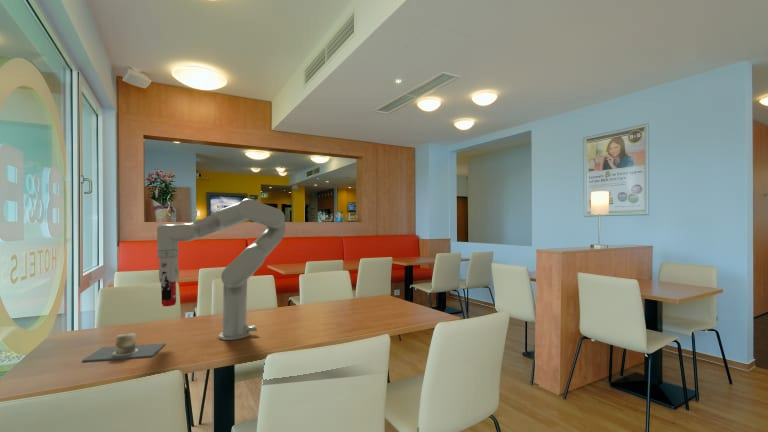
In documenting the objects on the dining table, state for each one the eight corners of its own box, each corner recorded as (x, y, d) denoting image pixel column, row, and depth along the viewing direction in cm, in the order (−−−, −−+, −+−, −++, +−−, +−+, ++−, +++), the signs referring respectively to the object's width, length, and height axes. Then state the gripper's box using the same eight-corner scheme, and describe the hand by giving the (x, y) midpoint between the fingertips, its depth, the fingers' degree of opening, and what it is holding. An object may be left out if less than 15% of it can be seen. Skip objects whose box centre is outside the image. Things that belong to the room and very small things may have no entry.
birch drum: (138, 348, 140) (138, 332, 141) (131, 353, 135) (131, 337, 135) (120, 349, 139) (120, 333, 139) (112, 355, 133) (112, 338, 133)
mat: (165, 344, 147) (165, 342, 147) (152, 356, 134) (152, 354, 134) (102, 348, 142) (102, 347, 142) (81, 362, 128) (82, 360, 128)
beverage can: (169, 306, 148) (168, 277, 149) (158, 306, 150) (158, 277, 150) (179, 303, 154) (178, 275, 154) (168, 303, 155) (167, 275, 155)
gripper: (171, 255, 144) (172, 301, 144) (184, 252, 161) (184, 293, 161) (150, 256, 143) (151, 303, 142) (164, 253, 159) (165, 295, 159)
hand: (168, 297), depth 152 cm, fingers closed on beverage can, 5 cm apart
